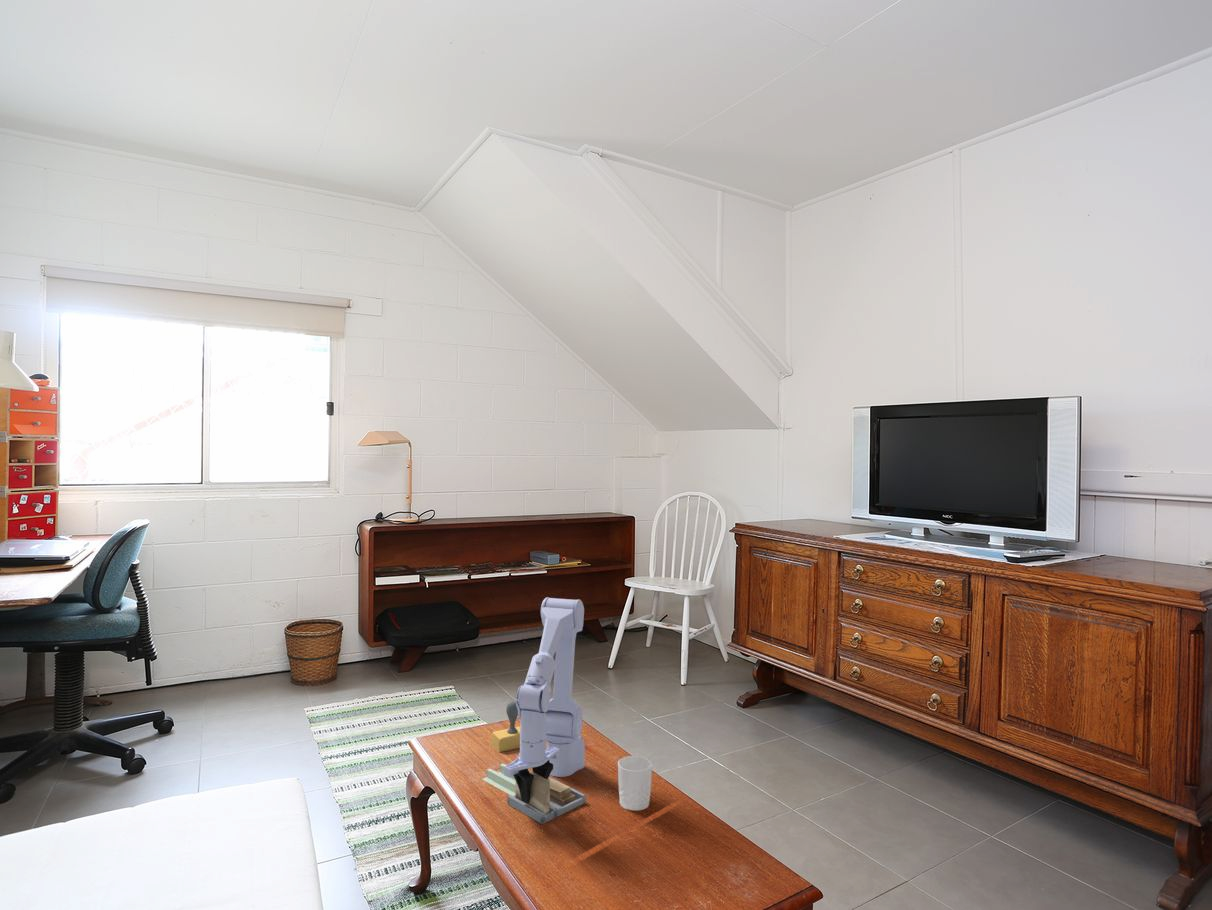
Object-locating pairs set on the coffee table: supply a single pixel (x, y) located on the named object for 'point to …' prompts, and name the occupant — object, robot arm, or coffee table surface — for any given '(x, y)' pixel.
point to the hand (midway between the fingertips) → (532, 798)
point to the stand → (501, 780)
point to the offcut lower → (563, 799)
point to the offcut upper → (558, 789)
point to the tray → (554, 808)
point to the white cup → (634, 782)
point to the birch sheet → (538, 794)
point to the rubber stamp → (508, 732)
